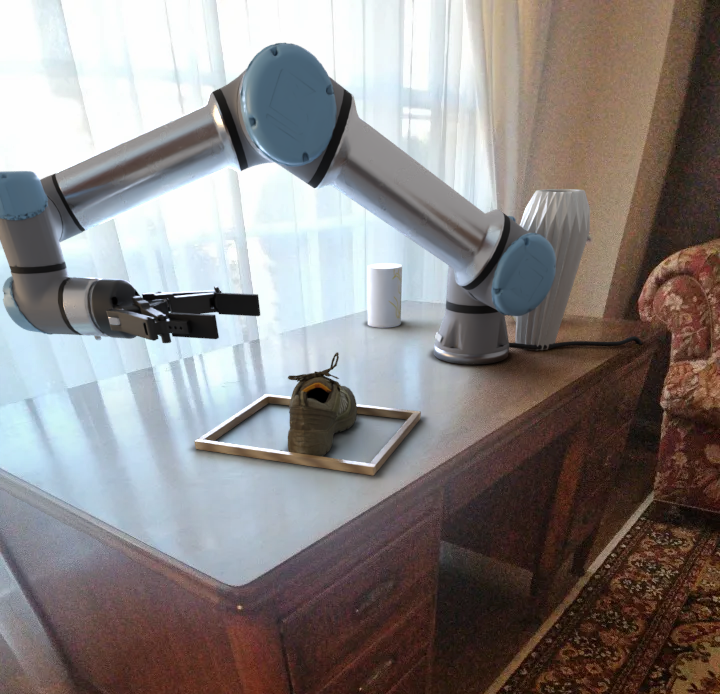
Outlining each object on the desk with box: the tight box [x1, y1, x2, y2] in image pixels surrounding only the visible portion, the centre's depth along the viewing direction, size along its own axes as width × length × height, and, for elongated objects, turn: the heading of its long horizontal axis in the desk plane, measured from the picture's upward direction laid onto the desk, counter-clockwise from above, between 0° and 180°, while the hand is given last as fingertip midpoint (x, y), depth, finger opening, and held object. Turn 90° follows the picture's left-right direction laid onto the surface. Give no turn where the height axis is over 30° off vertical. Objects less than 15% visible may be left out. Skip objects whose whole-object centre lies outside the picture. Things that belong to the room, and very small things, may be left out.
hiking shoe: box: [287, 351, 357, 457], centre depth 84 cm, size 8×20×12 cm, turn 166°
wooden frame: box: [193, 393, 422, 477], centre depth 88 cm, size 28×22×1 cm
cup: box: [366, 262, 403, 329], centre depth 137 cm, size 8×8×12 cm
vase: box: [514, 188, 591, 351], centre depth 114 cm, size 13×13×26 cm
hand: (238, 315), depth 79 cm, fingers open, 13 cm apart
